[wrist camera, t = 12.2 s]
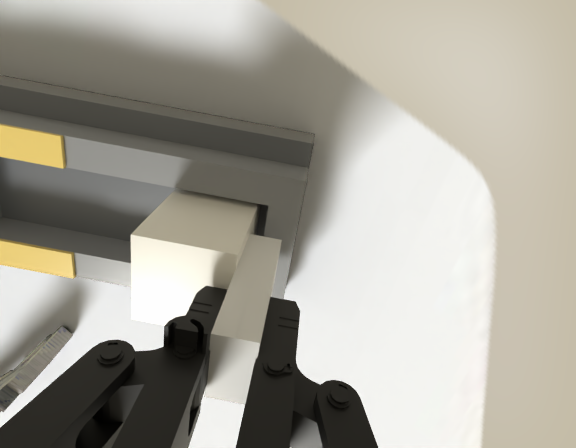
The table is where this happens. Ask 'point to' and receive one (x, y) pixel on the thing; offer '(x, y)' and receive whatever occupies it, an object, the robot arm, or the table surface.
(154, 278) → the tab
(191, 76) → the table surface
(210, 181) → the switch board
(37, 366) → the caliper
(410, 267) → the table surface
